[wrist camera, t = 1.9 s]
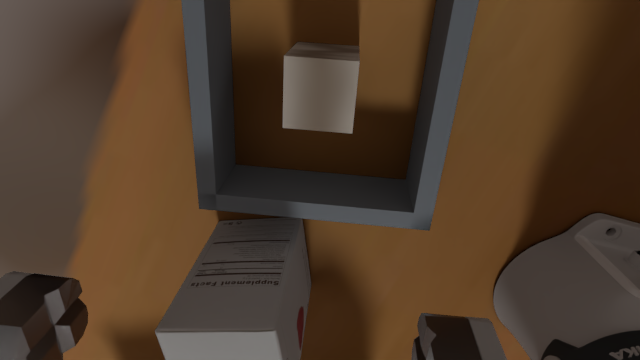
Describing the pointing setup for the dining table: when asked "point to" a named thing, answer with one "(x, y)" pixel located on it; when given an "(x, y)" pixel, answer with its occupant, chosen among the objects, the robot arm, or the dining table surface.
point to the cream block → (320, 87)
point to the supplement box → (242, 295)
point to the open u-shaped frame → (308, 186)
